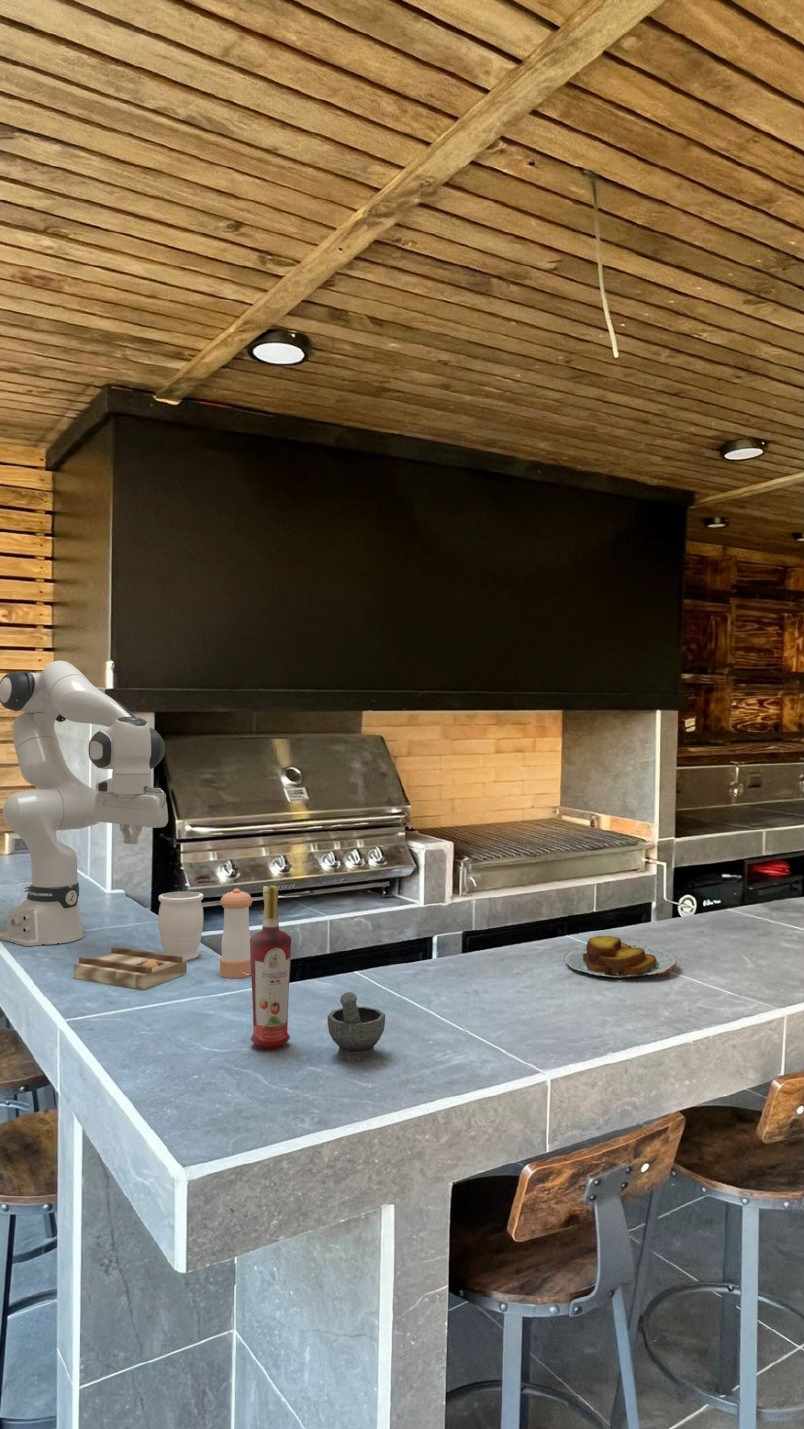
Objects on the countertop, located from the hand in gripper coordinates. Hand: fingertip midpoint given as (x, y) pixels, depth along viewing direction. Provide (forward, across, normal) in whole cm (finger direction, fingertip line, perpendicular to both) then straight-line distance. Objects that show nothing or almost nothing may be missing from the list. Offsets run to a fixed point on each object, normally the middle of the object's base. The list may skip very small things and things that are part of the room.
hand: (130, 843), depth 225 cm
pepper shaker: (+27, -31, -1) cm, 41 cm away
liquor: (+26, -64, +33) cm, 77 cm away
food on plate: (+26, -106, -47) cm, 119 cm away
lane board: (+27, -11, +11) cm, 31 cm away
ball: (+25, -16, +11) cm, 32 cm away
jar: (+28, -10, -7) cm, 30 cm away
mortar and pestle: (+25, -80, +31) cm, 90 cm away
